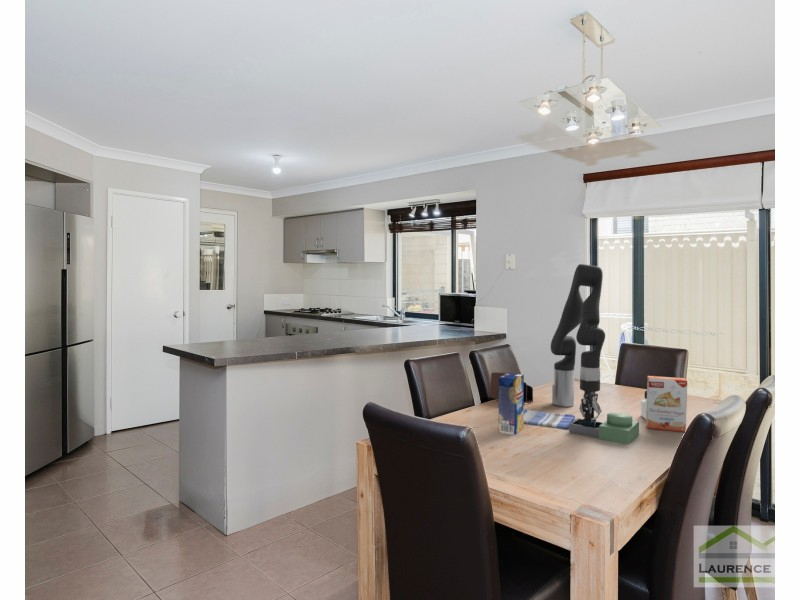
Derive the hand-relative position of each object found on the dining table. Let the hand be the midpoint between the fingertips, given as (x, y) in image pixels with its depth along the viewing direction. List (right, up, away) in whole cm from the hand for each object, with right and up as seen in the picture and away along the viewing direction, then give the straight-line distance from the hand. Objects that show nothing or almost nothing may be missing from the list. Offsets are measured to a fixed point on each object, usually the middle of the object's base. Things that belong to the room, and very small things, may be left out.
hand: (589, 421), depth 201 cm
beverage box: (-30, -5, +3) cm, 31 cm away
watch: (0, -3, 0) cm, 3 cm away
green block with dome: (+10, -5, -5) cm, 12 cm away
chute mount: (0, -4, 0) cm, 4 cm away
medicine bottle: (+35, -4, +21) cm, 41 cm away
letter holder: (-19, -3, +55) cm, 58 cm away
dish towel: (-13, -5, +17) cm, 22 cm away
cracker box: (+33, -5, +5) cm, 34 cm away
